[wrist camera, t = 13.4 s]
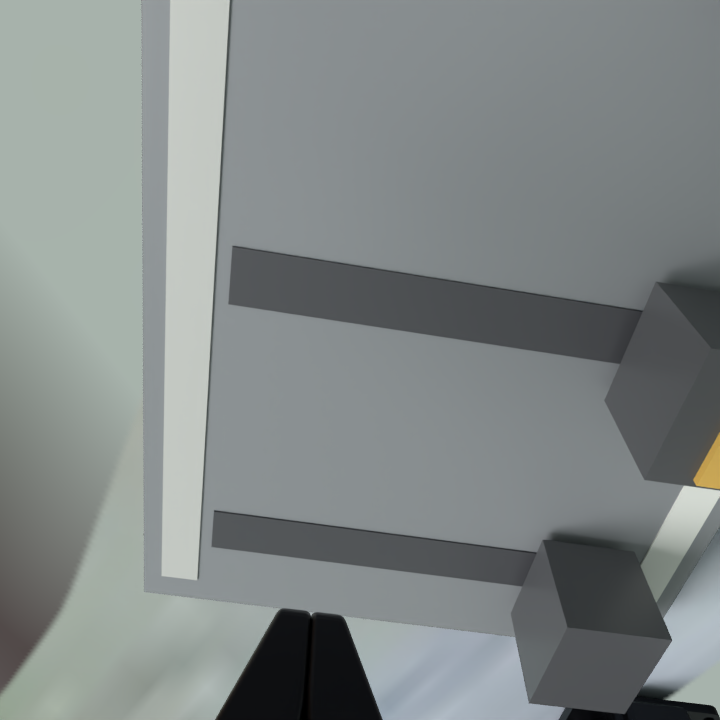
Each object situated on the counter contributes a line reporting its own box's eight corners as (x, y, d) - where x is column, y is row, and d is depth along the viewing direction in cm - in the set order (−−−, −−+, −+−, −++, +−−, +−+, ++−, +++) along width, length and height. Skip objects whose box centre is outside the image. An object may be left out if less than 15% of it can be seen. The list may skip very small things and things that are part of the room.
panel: (624, 606, 26) (680, 753, 22) (159, 547, 25) (109, 689, 20) (1086, -213, 13) (1478, -299, 9) (172, -421, 12) (42, -656, 7)
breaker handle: (708, 416, 19) (770, 502, 16) (604, 400, 18) (646, 486, 16) (771, 300, 17) (854, 375, 14) (655, 281, 17) (715, 353, 14)
